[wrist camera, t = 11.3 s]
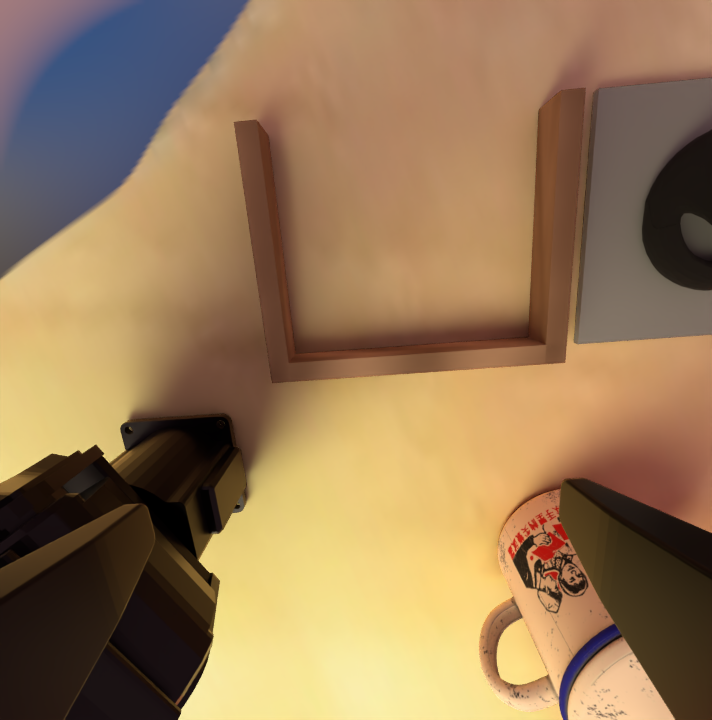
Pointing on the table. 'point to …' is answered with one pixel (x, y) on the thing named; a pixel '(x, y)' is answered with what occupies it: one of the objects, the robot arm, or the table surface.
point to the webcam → (680, 214)
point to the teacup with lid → (562, 628)
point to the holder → (542, 345)
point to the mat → (638, 214)
